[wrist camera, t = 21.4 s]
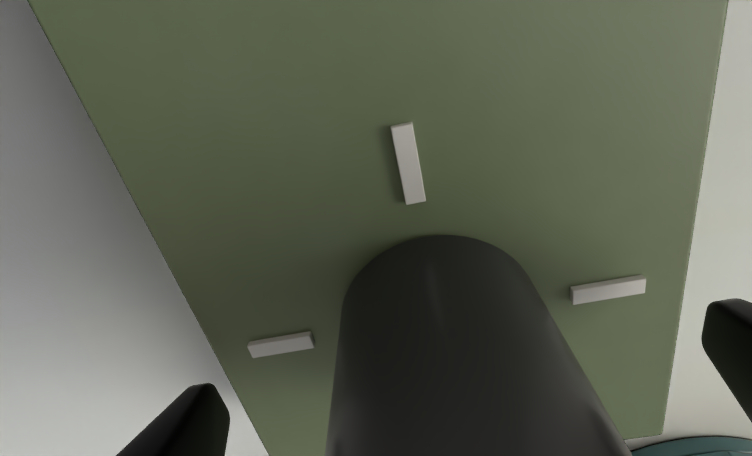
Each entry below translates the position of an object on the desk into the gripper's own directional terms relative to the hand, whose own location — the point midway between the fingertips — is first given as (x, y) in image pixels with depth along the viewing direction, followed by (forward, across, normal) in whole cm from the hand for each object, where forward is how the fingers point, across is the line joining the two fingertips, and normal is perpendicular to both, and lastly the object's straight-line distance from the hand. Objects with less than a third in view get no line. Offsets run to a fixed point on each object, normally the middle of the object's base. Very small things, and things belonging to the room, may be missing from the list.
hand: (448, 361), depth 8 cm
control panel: (+4, 0, -2) cm, 5 cm away
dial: (+1, 0, 0) cm, 1 cm away
